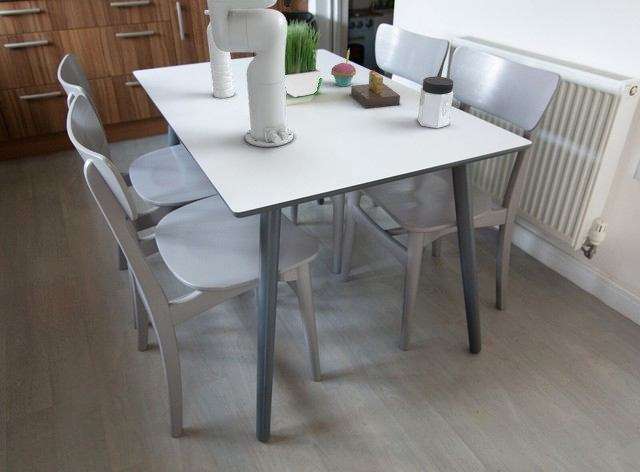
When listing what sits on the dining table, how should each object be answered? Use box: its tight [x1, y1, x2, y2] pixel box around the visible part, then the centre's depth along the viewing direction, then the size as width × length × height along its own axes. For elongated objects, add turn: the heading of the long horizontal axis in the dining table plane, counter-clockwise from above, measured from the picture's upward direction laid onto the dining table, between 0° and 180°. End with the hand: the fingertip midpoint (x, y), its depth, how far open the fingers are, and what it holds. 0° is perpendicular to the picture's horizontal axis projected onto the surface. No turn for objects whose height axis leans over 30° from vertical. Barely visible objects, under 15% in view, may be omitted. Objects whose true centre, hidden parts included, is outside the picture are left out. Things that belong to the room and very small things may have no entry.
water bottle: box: [203, 9, 235, 99], centre depth 158 cm, size 9×6×25 cm
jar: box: [417, 76, 454, 129], centre depth 139 cm, size 9×8×12 cm
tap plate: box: [350, 83, 401, 109], centre depth 159 cm, size 14×11×3 cm
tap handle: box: [368, 70, 384, 94], centre depth 157 cm, size 7×2×5 cm, turn 17°
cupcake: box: [330, 47, 357, 87], centre depth 171 cm, size 9×8×12 cm
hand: (271, 7), depth 150 cm, fingers open, 9 cm apart
